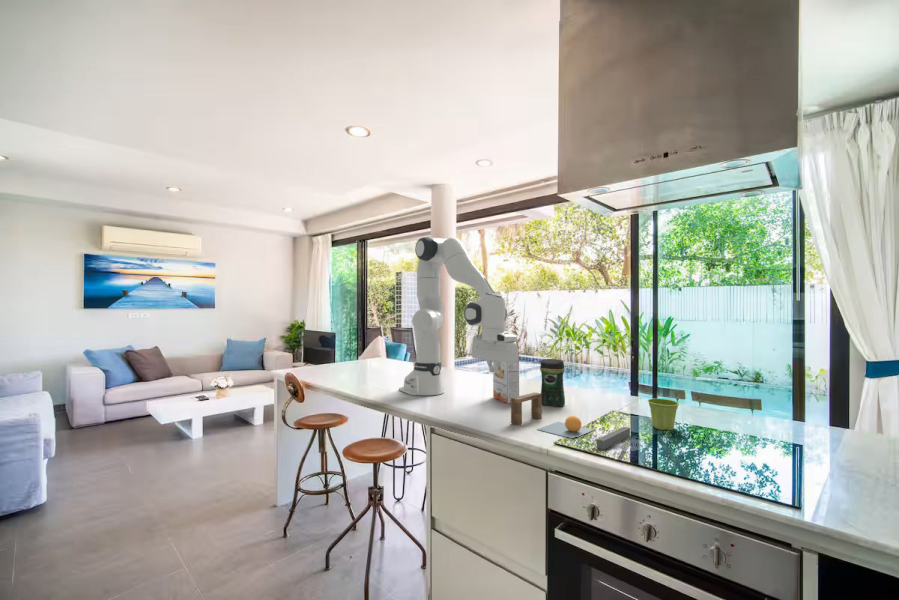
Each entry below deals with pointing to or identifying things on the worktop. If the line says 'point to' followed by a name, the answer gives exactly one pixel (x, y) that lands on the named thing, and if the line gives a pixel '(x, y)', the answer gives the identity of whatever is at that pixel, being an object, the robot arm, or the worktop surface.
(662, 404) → the plant pot
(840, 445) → the worktop surface
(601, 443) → the wall
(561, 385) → the coffee jar
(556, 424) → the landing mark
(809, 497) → the worktop surface
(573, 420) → the ball
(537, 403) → the bridge
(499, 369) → the cracker box
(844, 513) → the worktop surface
